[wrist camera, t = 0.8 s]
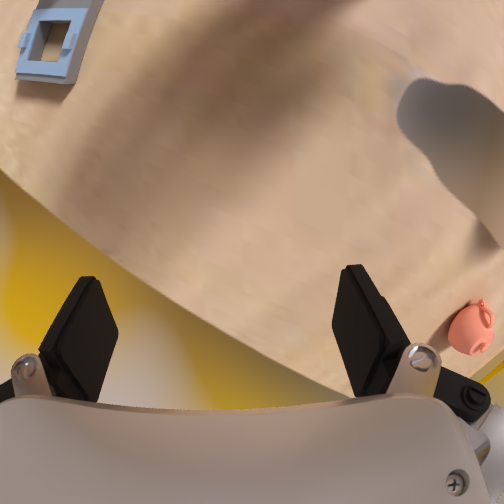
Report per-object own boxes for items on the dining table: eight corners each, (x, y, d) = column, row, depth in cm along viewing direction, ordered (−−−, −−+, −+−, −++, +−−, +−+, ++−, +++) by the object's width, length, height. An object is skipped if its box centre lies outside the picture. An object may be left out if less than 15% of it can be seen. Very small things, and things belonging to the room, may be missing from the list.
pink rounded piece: (435, 341, 58) (454, 373, 49) (459, 294, 51) (484, 326, 42) (469, 333, 59) (488, 361, 50) (492, 289, 52) (516, 317, 43)
